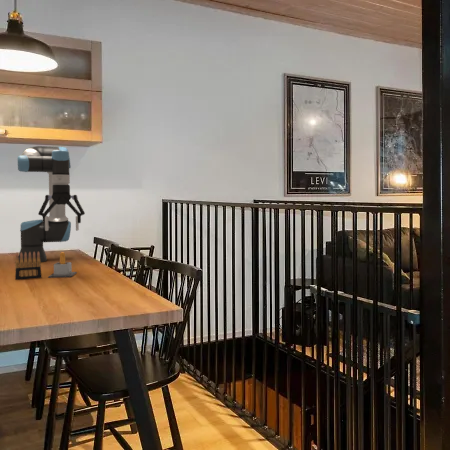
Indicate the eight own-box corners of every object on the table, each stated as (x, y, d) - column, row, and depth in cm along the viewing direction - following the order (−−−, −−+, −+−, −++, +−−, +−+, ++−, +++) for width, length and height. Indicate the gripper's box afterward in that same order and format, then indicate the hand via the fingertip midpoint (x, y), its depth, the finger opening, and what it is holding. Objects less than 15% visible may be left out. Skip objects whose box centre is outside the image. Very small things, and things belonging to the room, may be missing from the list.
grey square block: (57, 273, 221) (57, 262, 221) (71, 272, 222) (71, 262, 222) (53, 275, 215) (53, 264, 214) (68, 275, 215) (68, 264, 215)
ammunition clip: (15, 279, 207) (14, 252, 206) (15, 279, 209) (14, 252, 208) (41, 277, 212) (40, 251, 211) (41, 277, 213) (40, 250, 213)
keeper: (54, 273, 224) (54, 250, 223) (76, 273, 225) (76, 250, 224) (48, 277, 212) (47, 253, 211) (71, 277, 213) (70, 253, 212)
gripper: (30, 184, 211) (31, 231, 213) (87, 184, 214) (88, 230, 216) (35, 184, 219) (36, 230, 220) (90, 184, 222) (91, 229, 223)
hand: (62, 230), depth 218 cm, fingers open, 13 cm apart
